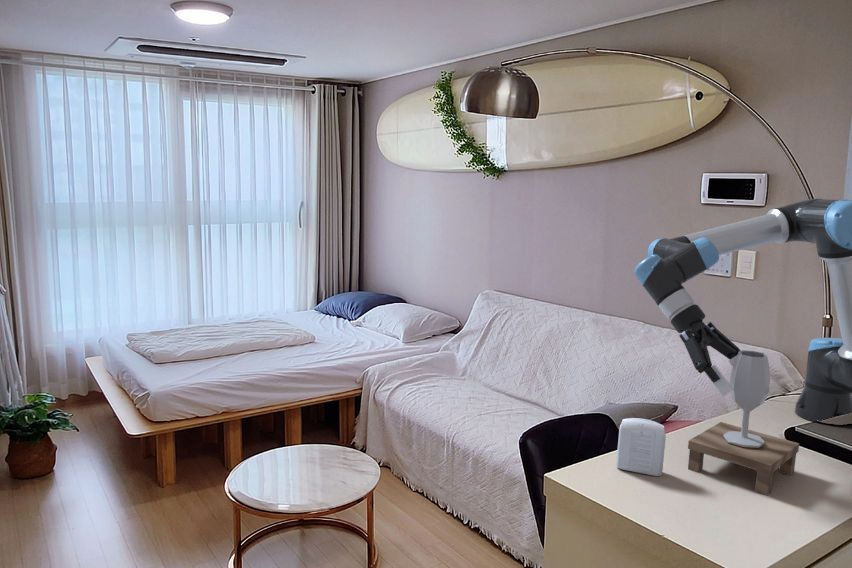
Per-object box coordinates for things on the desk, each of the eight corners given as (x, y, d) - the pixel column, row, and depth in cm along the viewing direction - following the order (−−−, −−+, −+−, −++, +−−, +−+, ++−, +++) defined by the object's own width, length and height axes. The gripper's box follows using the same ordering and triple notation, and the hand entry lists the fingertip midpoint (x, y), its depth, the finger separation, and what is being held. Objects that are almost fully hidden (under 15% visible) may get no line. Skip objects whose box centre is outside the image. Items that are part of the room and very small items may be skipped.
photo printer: (663, 471, 155) (667, 420, 153) (661, 478, 151) (666, 426, 149) (617, 462, 158) (621, 413, 156) (615, 469, 155) (618, 418, 153)
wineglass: (721, 444, 153) (730, 355, 149) (724, 431, 160) (732, 346, 157) (764, 452, 149) (774, 361, 145) (764, 439, 156) (774, 352, 153)
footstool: (718, 448, 168) (720, 421, 167) (795, 471, 155) (799, 443, 154) (686, 469, 156) (688, 440, 155) (767, 496, 143) (771, 465, 142)
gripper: (693, 314, 173) (747, 384, 165) (646, 328, 155) (704, 406, 147) (715, 297, 168) (772, 368, 160) (670, 309, 151) (731, 389, 143)
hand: (740, 386), depth 154 cm, fingers open, 13 cm apart
